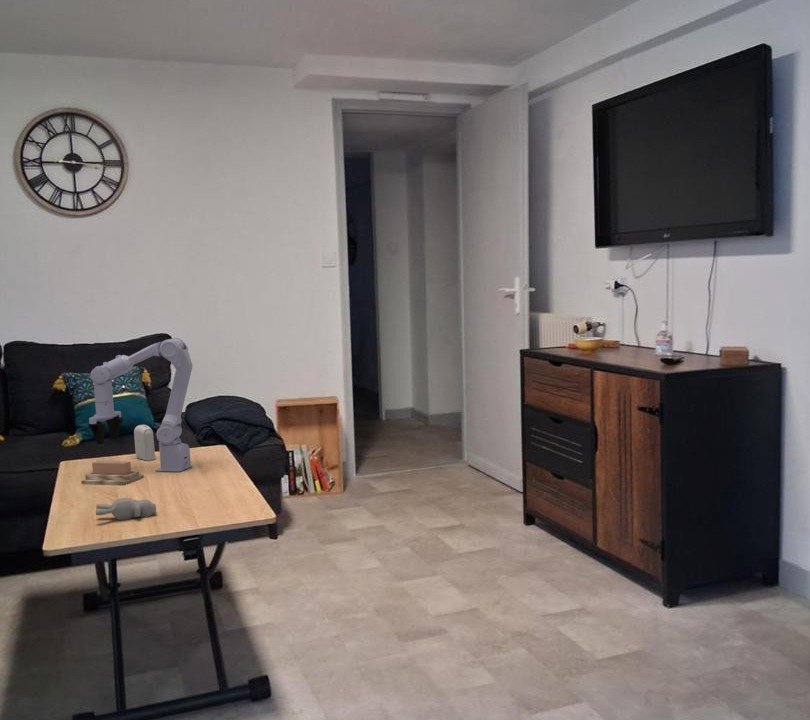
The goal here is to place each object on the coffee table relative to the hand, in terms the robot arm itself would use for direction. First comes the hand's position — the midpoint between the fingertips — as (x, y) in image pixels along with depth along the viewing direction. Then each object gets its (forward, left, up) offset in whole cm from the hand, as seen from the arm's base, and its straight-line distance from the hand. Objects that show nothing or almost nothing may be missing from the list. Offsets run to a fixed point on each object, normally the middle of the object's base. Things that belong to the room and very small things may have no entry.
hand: (107, 441), depth 273 cm
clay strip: (-9, +11, -9) cm, 17 cm away
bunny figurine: (-40, +49, -11) cm, 64 cm away
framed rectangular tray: (-9, +11, -10) cm, 18 cm away
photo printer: (0, -21, -11) cm, 24 cm away
